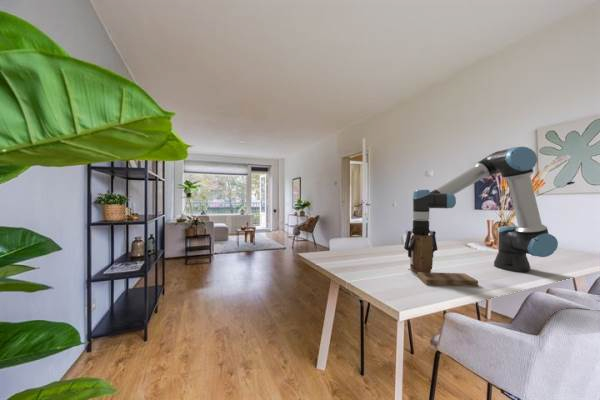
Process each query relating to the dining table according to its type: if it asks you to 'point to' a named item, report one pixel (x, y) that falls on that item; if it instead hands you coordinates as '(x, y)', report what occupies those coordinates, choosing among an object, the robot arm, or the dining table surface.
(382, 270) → the dining table surface
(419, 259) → the block
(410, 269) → the end pad
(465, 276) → the board
